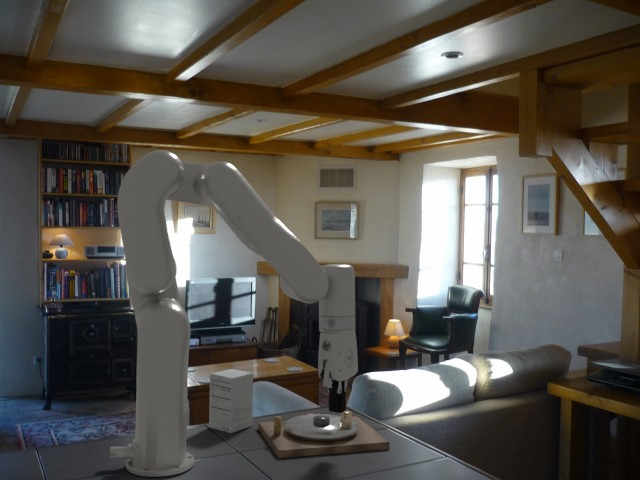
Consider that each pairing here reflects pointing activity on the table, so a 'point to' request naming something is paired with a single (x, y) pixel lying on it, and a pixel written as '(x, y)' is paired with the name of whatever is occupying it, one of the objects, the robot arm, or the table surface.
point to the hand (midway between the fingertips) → (337, 411)
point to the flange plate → (322, 426)
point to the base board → (297, 447)
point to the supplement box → (231, 400)
